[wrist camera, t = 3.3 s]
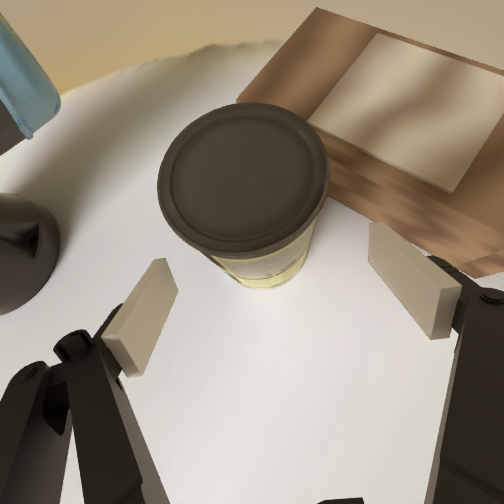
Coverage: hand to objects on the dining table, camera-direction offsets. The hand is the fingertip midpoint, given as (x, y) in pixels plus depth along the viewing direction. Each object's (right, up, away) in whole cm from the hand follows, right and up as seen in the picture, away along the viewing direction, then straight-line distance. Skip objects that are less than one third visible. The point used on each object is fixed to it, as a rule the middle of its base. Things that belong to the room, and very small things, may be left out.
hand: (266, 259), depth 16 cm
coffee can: (0, +1, +12) cm, 12 cm away
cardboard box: (+14, +11, +13) cm, 22 cm away
